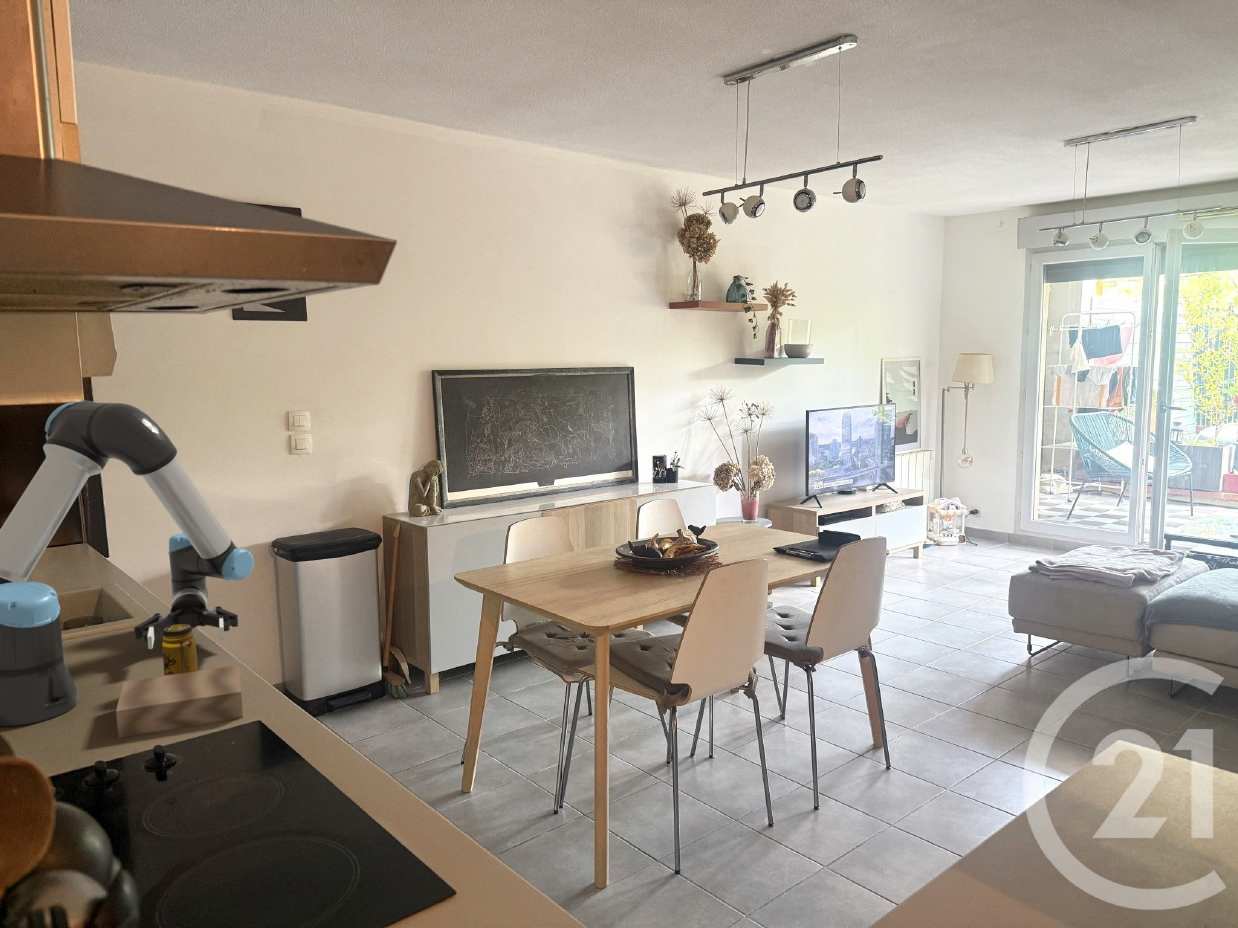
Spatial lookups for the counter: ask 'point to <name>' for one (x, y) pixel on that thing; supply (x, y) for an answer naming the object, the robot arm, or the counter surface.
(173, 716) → the stand
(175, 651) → the condiment
